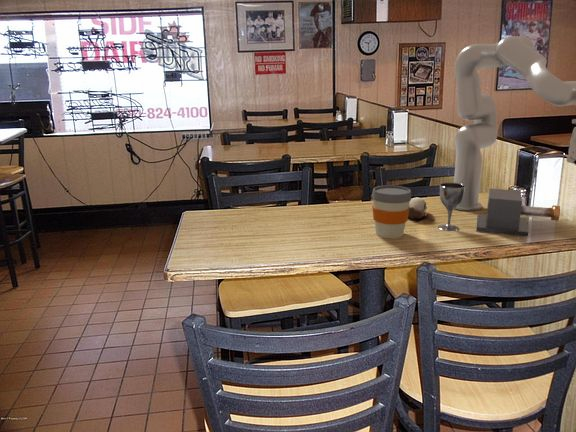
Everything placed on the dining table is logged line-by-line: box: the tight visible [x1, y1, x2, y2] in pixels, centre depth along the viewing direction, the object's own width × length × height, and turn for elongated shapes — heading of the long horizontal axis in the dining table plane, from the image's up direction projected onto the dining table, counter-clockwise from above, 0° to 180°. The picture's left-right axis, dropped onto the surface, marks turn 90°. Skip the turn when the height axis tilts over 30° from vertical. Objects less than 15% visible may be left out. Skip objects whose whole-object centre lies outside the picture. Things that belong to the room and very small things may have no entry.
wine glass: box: [437, 181, 465, 232], centre depth 183 cm, size 8×8×15 cm
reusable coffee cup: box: [371, 184, 412, 239], centre depth 177 cm, size 13×13×15 cm
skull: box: [407, 196, 435, 224], centre depth 196 cm, size 12×10×10 cm
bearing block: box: [475, 188, 530, 238], centre depth 184 cm, size 16×16×12 cm
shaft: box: [520, 205, 561, 222], centre depth 181 cm, size 16×5×5 cm, turn 70°
